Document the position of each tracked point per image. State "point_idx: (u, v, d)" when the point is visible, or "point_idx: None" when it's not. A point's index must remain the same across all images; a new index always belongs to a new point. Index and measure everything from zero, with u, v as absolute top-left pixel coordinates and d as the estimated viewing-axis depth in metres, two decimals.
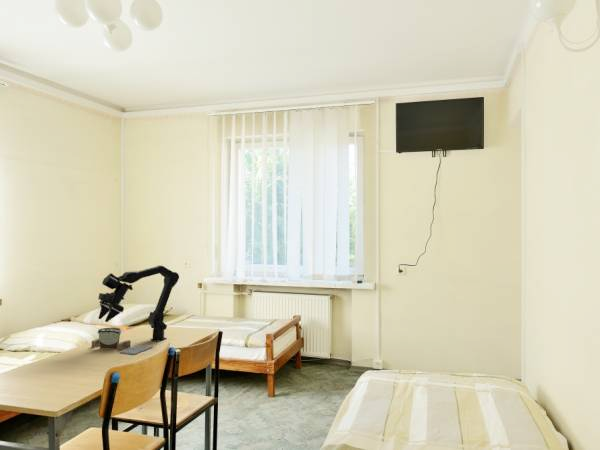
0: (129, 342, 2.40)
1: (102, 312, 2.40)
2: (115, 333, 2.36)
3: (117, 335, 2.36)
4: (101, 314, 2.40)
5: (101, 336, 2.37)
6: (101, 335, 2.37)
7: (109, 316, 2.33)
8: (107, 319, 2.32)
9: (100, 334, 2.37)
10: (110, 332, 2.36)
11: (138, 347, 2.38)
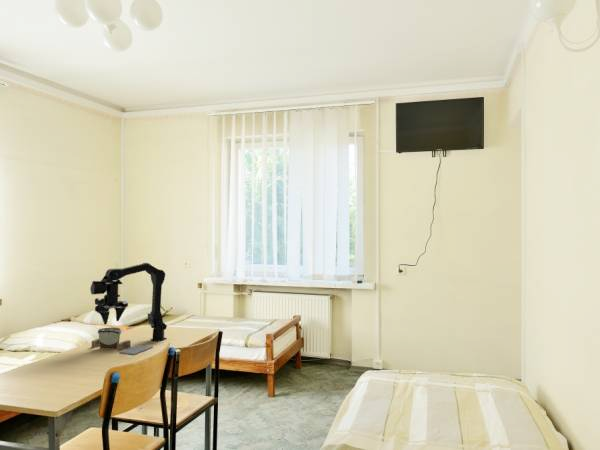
0: (129, 342, 2.40)
1: (117, 314, 2.44)
2: (115, 333, 2.36)
3: (117, 335, 2.36)
4: (117, 316, 2.44)
5: (101, 336, 2.37)
6: (101, 335, 2.37)
7: (103, 318, 2.34)
8: (104, 322, 2.35)
9: (100, 334, 2.37)
10: (110, 332, 2.36)
11: (138, 347, 2.38)
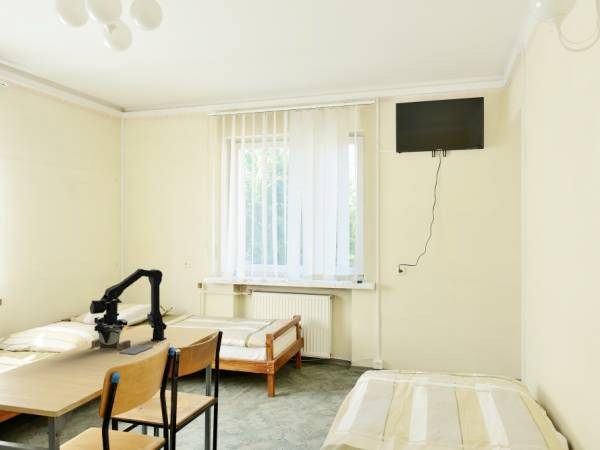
0: (129, 342, 2.40)
1: None
2: (115, 333, 2.36)
3: (117, 335, 2.36)
4: None
5: (101, 336, 2.37)
6: (101, 335, 2.37)
7: (104, 337, 2.35)
8: (105, 340, 2.35)
9: (100, 334, 2.37)
10: (110, 332, 2.36)
11: (138, 347, 2.38)
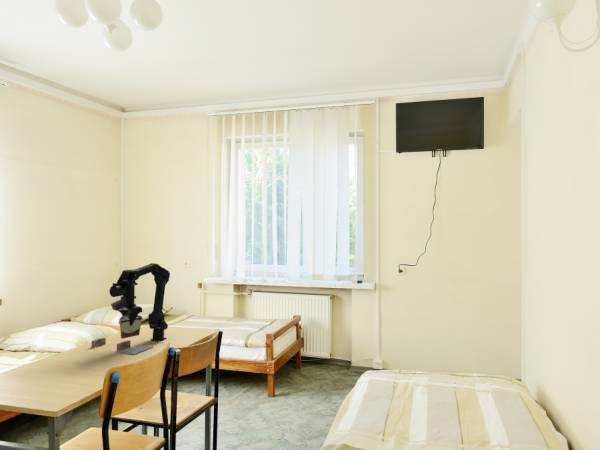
0: (129, 342, 2.40)
1: None
2: (138, 320, 2.37)
3: (139, 321, 2.38)
4: None
5: (123, 326, 2.32)
6: (123, 325, 2.32)
7: (131, 320, 2.33)
8: (131, 323, 2.34)
9: (122, 324, 2.31)
10: None
11: (138, 347, 2.38)
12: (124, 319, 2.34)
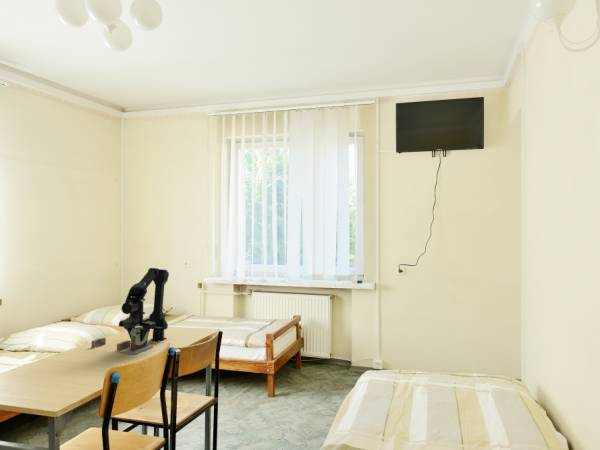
0: (129, 342, 2.40)
1: None
2: None
3: (148, 333, 2.39)
4: None
5: (136, 338, 2.30)
6: (137, 337, 2.31)
7: (143, 335, 2.33)
8: (142, 339, 2.33)
9: (136, 337, 2.30)
10: None
11: None
12: (135, 331, 2.33)
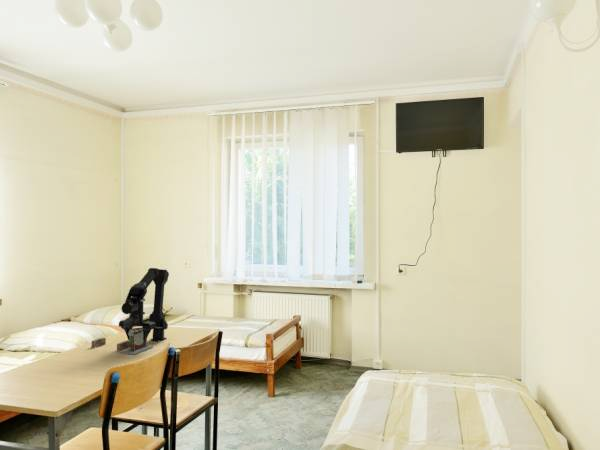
0: (129, 342, 2.40)
1: None
2: None
3: None
4: None
5: (135, 338, 2.31)
6: (135, 337, 2.31)
7: (145, 336, 2.33)
8: (145, 339, 2.33)
9: (134, 336, 2.30)
10: (141, 332, 2.36)
11: None
12: (133, 332, 2.33)
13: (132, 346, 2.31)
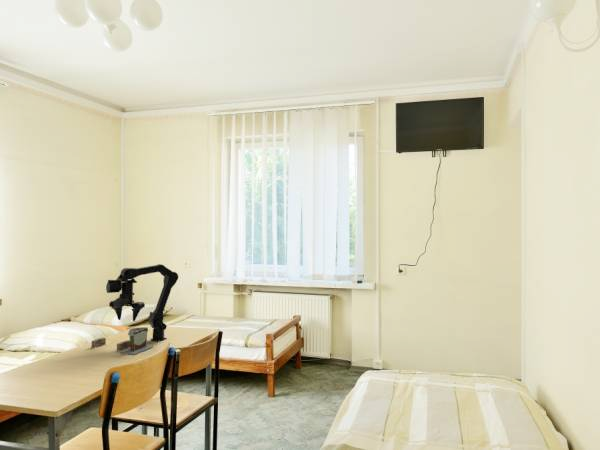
0: (129, 342, 2.40)
1: (118, 313, 2.47)
2: (145, 331, 2.38)
3: (146, 333, 2.39)
4: (119, 315, 2.47)
5: (135, 338, 2.31)
6: (135, 337, 2.31)
7: (135, 315, 2.44)
8: (134, 318, 2.44)
9: (134, 336, 2.30)
10: (141, 332, 2.36)
11: None
12: (133, 332, 2.33)
13: (132, 346, 2.31)
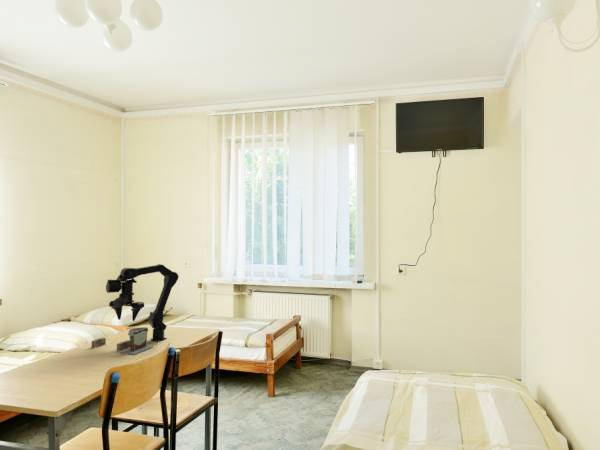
0: (129, 342, 2.40)
1: (118, 313, 2.47)
2: (145, 331, 2.38)
3: (146, 333, 2.39)
4: (119, 315, 2.47)
5: (135, 338, 2.31)
6: (135, 337, 2.31)
7: (134, 315, 2.44)
8: (134, 318, 2.44)
9: (134, 336, 2.30)
10: (141, 332, 2.36)
11: None
12: (133, 332, 2.33)
13: (132, 346, 2.31)
